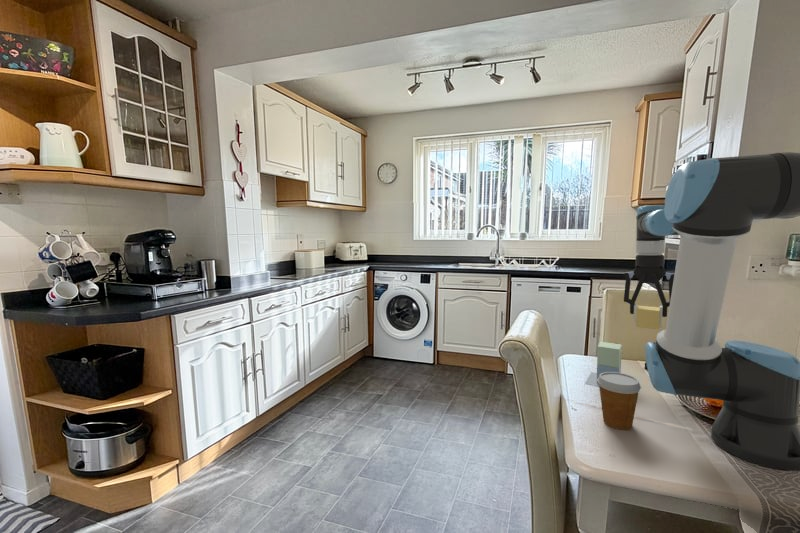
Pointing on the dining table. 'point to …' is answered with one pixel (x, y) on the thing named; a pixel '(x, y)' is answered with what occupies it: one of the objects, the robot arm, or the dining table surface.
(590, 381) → the slate board
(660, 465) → the dining table surface
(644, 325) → the ochre brick
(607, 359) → the sage brick
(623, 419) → the disposable coffee cup
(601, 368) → the blue base brick
